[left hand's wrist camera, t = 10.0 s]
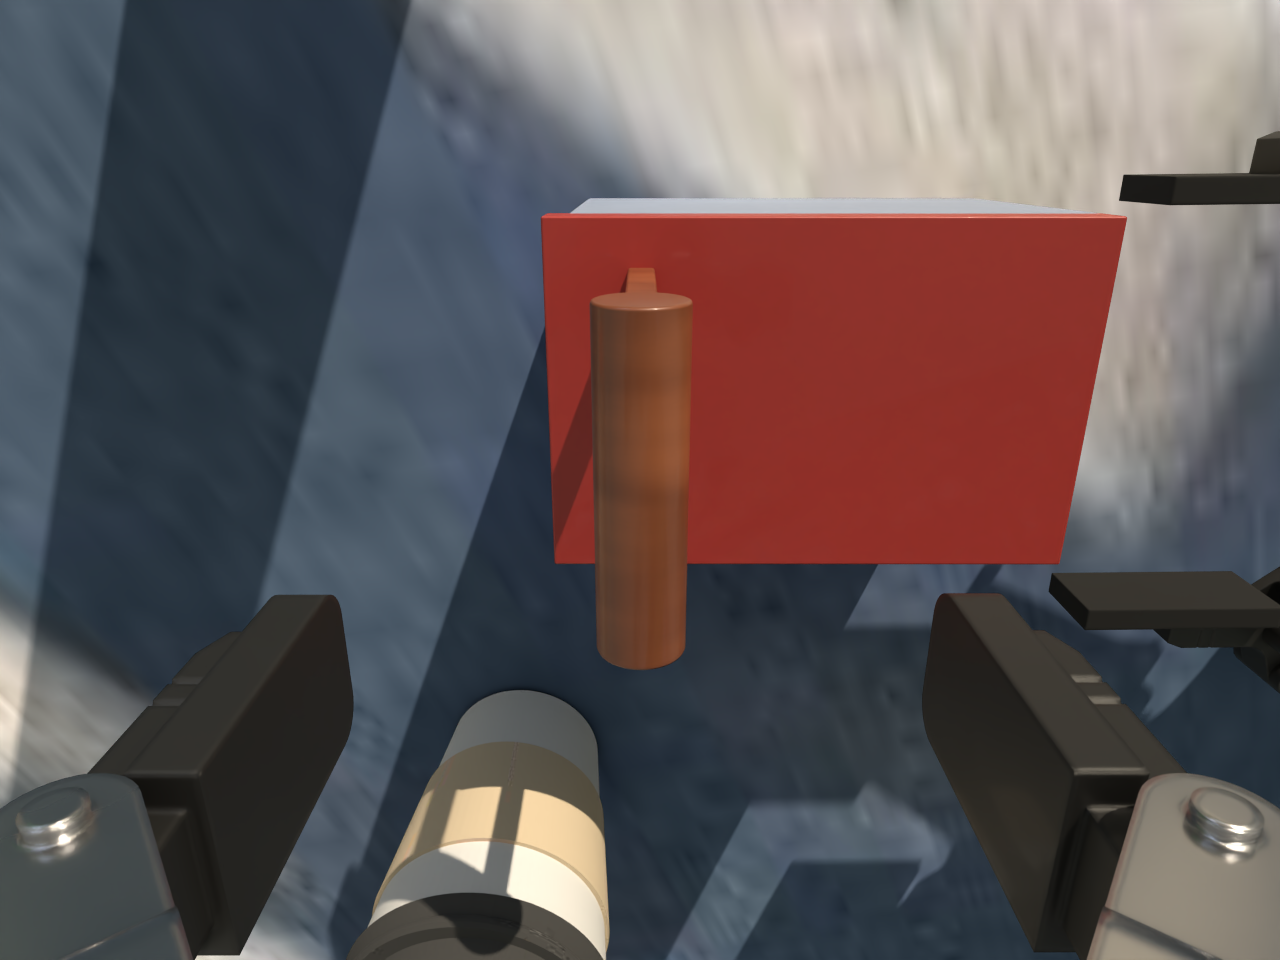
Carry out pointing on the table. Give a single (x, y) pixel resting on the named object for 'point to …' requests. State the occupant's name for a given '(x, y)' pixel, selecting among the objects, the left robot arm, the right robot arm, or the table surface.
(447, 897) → the coffee cup
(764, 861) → the table surface
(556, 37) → the table surface
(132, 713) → the table surface
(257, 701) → the left robot arm
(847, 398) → the lid
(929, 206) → the chest
